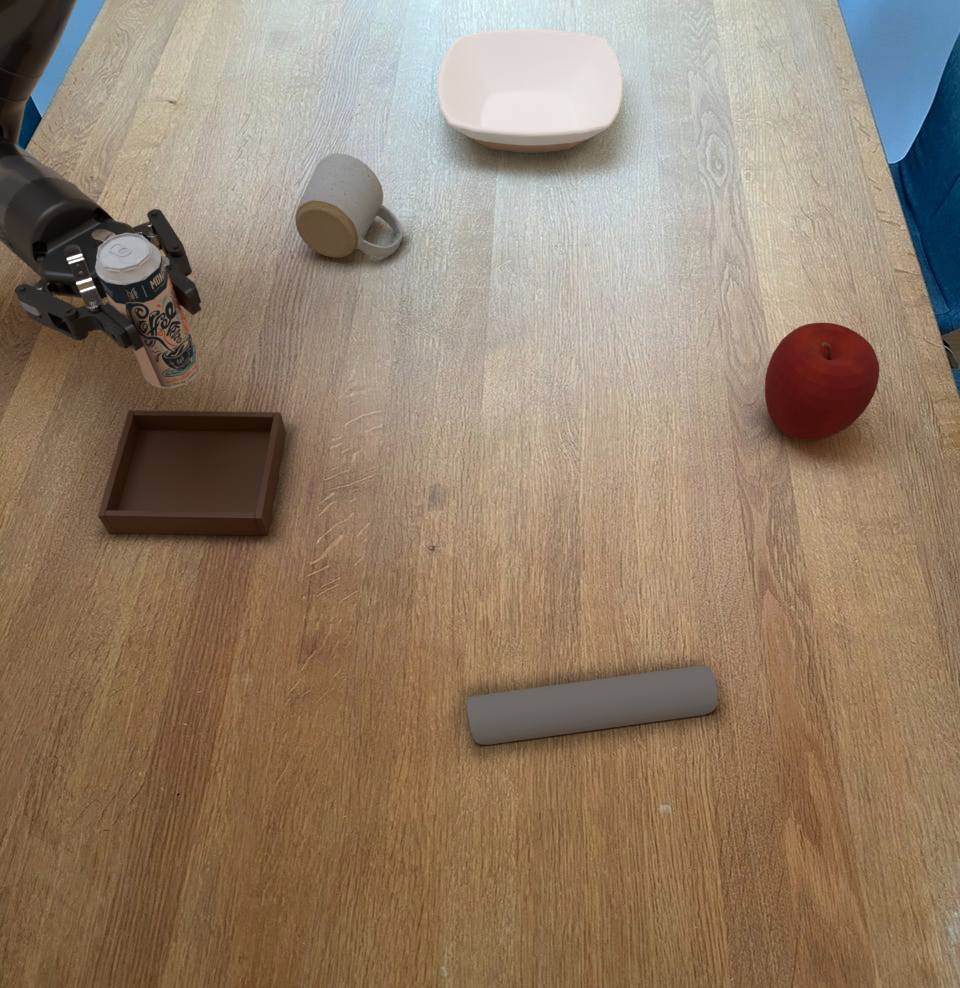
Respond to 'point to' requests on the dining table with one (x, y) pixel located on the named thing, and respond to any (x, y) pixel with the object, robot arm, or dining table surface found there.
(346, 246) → the ceramic mug
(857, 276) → the dining table surface
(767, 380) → the apple
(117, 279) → the beer can
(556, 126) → the bowl
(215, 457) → the serving tray
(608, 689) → the half round rod
